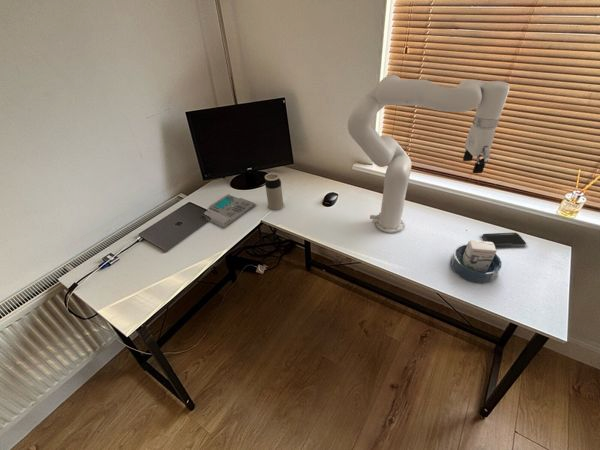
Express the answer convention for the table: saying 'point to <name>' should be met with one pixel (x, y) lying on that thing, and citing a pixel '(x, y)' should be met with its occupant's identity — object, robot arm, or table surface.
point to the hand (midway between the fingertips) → (472, 166)
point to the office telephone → (228, 210)
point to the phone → (504, 239)
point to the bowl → (470, 274)
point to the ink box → (478, 255)
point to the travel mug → (274, 191)
